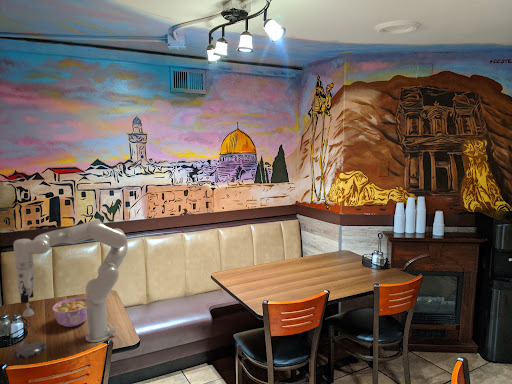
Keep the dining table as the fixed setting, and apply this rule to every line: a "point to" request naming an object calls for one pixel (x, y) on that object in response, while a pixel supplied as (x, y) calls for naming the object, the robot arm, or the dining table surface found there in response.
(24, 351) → the gear trivet
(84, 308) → the bowl of food
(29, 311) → the chalice
